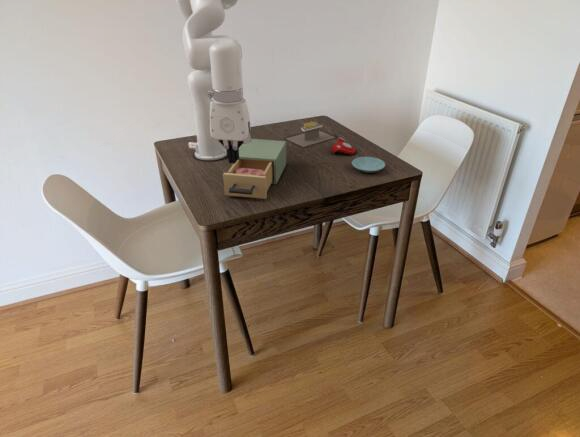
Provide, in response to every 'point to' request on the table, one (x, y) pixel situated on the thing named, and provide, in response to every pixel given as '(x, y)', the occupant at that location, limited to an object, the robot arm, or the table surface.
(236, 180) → the drawer
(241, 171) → the pink notched rounded block
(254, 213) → the table surface
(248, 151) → the cabinet
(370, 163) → the saucer
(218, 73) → the robot arm
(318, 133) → the platform
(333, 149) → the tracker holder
